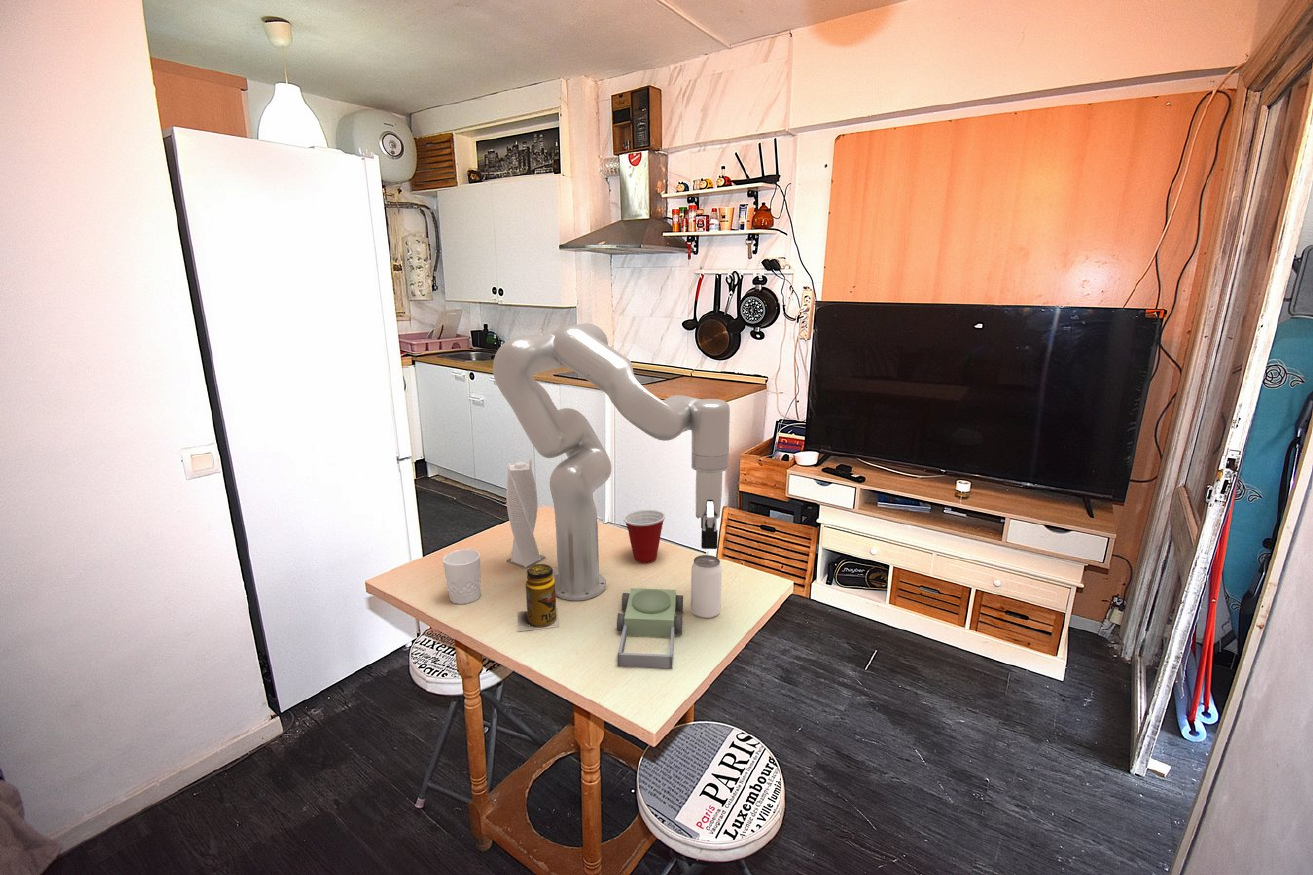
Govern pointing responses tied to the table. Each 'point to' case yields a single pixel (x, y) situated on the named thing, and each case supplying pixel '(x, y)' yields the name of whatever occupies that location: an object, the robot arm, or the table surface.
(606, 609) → the table surface
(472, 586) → the white cup
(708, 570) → the can
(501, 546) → the table surface
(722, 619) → the table surface
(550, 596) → the condiment
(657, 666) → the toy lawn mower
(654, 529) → the plastic cup
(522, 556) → the skyscraper
